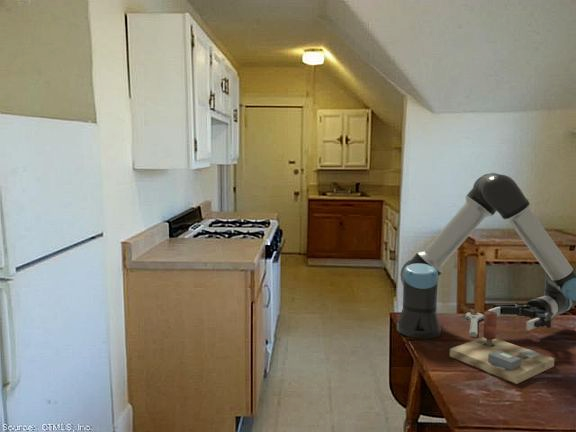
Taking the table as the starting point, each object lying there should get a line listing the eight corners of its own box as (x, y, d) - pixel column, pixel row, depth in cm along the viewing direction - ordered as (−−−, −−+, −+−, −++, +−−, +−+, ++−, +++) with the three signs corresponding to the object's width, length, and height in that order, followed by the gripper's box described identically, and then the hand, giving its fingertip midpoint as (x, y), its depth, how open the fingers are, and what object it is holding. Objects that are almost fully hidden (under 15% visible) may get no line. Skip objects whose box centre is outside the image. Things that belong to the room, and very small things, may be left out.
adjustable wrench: (477, 339, 165) (477, 334, 165) (457, 336, 168) (458, 331, 167) (483, 317, 187) (484, 313, 187) (466, 315, 190) (466, 310, 190)
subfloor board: (449, 356, 149) (449, 348, 149) (487, 342, 160) (487, 335, 160) (516, 383, 131) (517, 374, 131) (553, 366, 142) (554, 358, 142)
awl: (480, 351, 153) (482, 312, 151) (486, 349, 155) (488, 310, 153) (490, 355, 150) (492, 315, 148) (496, 353, 152) (499, 313, 150)
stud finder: (488, 361, 139) (488, 353, 139) (497, 357, 142) (498, 349, 142) (510, 370, 134) (511, 362, 133) (520, 366, 136) (521, 358, 136)
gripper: (577, 329, 159) (544, 343, 147) (507, 309, 179) (473, 320, 167) (579, 307, 158) (546, 319, 146) (508, 290, 178) (474, 299, 166)
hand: (507, 319), depth 157 cm, fingers open, 13 cm apart
